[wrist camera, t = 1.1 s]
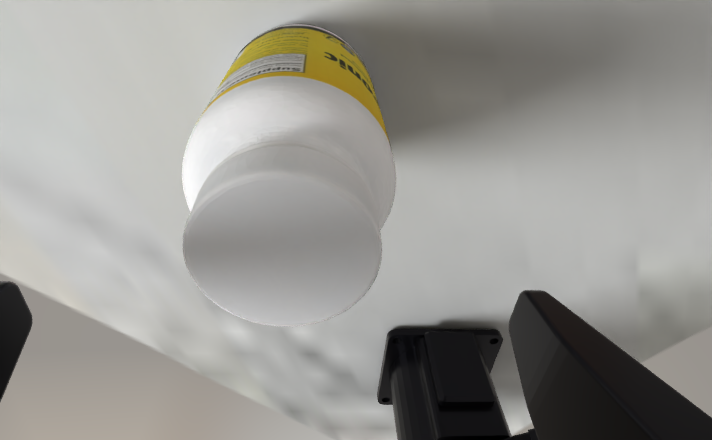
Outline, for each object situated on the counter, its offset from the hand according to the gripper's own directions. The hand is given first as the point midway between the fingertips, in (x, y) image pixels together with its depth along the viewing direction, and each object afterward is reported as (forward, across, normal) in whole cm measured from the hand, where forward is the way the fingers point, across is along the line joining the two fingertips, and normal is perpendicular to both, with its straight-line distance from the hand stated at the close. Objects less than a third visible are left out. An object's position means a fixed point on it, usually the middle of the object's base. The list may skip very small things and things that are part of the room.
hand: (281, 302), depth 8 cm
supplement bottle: (+11, 0, 0) cm, 11 cm away
